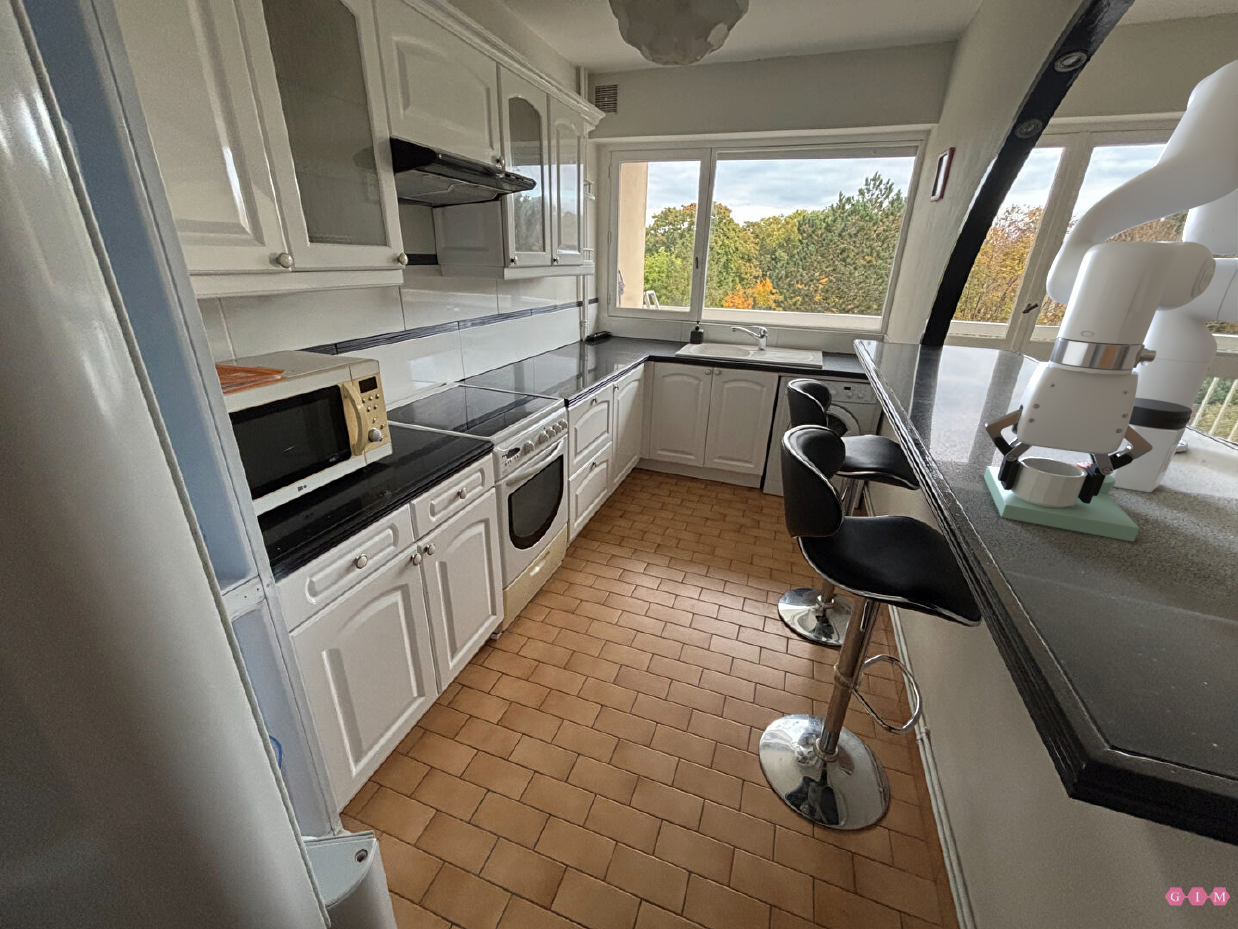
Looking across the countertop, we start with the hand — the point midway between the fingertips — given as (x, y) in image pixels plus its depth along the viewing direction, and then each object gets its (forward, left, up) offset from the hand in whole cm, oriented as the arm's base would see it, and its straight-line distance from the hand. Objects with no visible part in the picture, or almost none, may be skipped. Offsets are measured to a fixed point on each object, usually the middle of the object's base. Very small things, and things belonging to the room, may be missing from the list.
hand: (1043, 492), depth 66 cm
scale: (-3, +2, -3) cm, 5 cm away
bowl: (0, 0, -1) cm, 1 cm away
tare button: (-8, +7, 0) cm, 11 cm away
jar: (-19, +14, -3) cm, 24 cm away
